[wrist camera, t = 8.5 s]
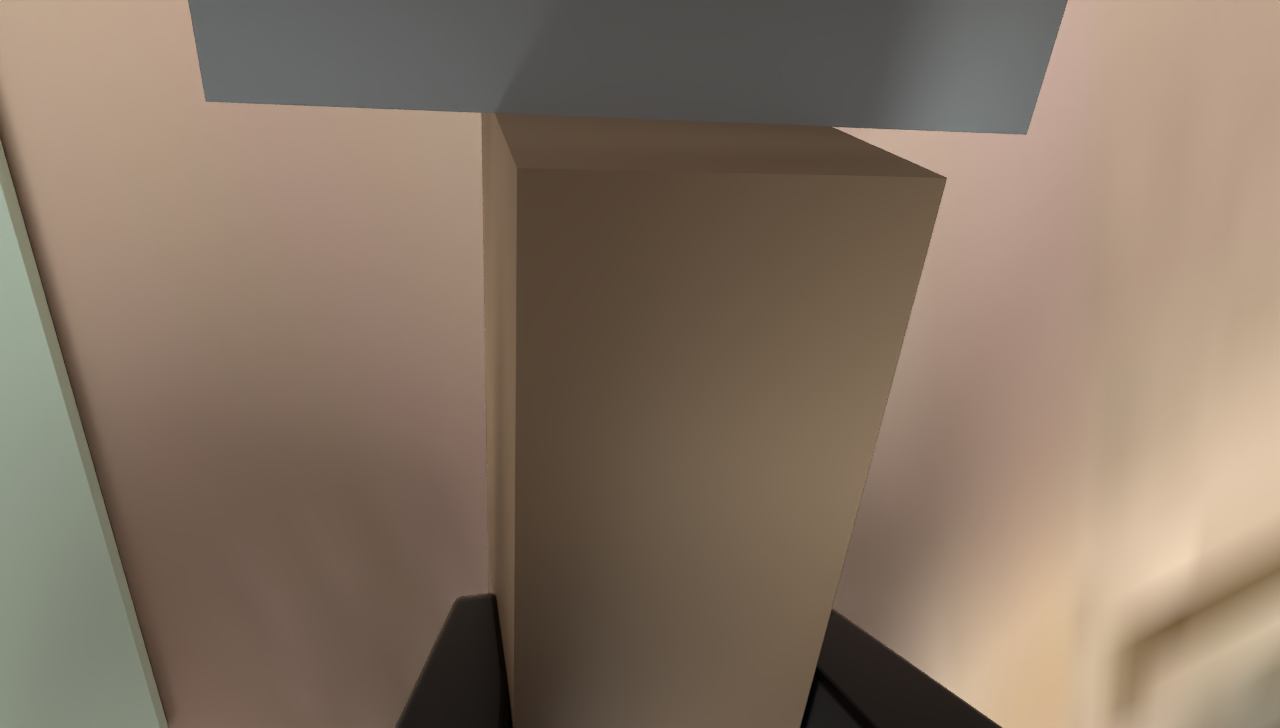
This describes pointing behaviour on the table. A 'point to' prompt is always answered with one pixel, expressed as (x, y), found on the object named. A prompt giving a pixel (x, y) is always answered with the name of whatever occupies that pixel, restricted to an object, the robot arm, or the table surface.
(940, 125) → the turner
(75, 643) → the mat
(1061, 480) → the table surface
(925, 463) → the table surface
